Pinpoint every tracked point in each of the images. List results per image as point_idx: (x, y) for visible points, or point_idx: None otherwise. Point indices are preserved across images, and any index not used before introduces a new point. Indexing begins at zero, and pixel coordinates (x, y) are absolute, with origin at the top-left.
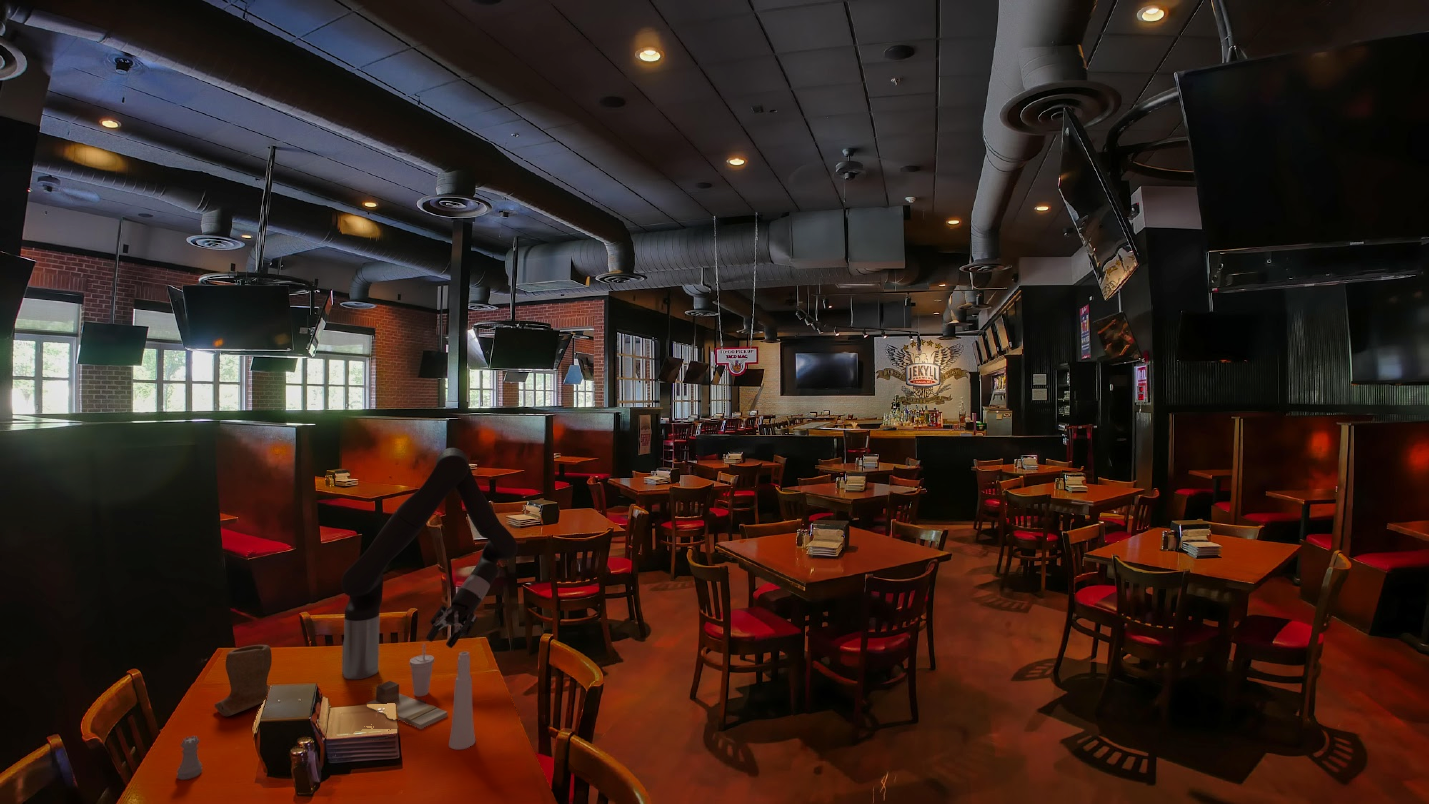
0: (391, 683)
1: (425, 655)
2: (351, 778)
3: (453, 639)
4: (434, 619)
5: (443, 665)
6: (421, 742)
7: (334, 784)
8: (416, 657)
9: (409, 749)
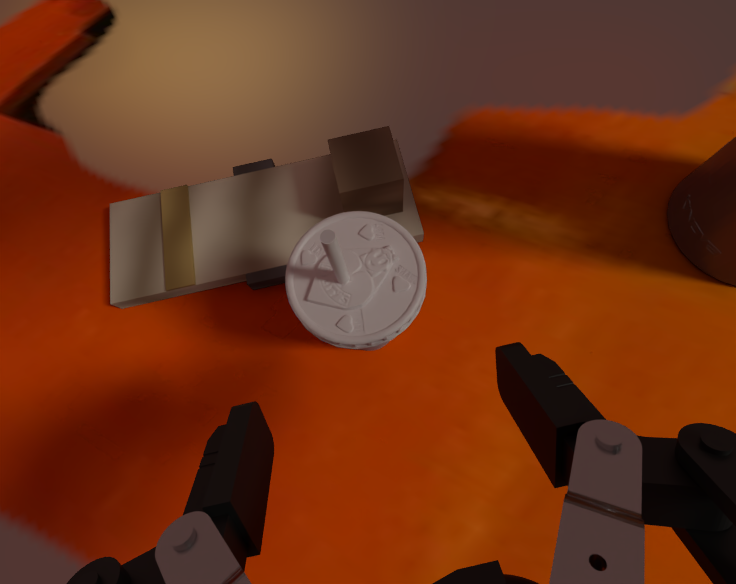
0: (370, 174)
1: (401, 315)
2: (60, 28)
3: (204, 463)
4: (719, 480)
5: None
6: (54, 186)
7: (71, 3)
8: (409, 263)
9: (52, 151)
